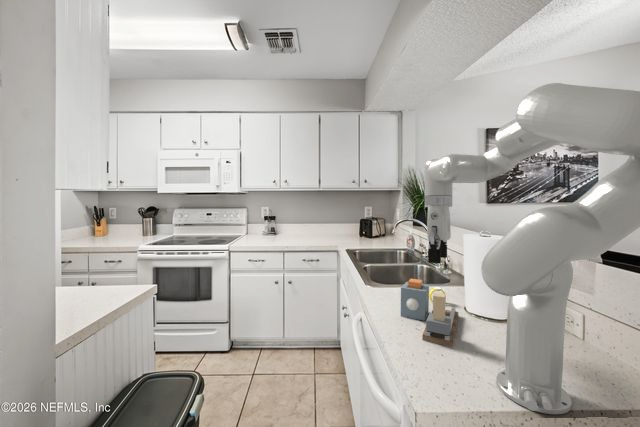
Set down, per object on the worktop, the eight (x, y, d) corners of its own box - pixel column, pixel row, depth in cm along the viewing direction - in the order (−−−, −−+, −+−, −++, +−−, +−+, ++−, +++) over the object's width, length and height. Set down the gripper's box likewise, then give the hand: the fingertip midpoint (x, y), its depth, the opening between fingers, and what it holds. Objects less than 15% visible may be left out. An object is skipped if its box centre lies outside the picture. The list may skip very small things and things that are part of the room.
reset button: (420, 291, 97) (420, 283, 96) (408, 289, 98) (408, 281, 98) (422, 288, 100) (422, 280, 100) (410, 286, 102) (410, 278, 102)
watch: (431, 304, 109) (430, 289, 109) (428, 302, 112) (427, 287, 112) (446, 303, 109) (446, 288, 109) (443, 301, 112) (443, 286, 112)
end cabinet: (424, 321, 94) (425, 291, 93) (400, 316, 98) (400, 288, 97) (428, 312, 101) (429, 284, 101) (405, 308, 105) (406, 281, 105)
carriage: (449, 335, 78) (449, 300, 78) (426, 330, 81) (426, 296, 81) (450, 326, 83) (451, 293, 83) (429, 322, 86) (430, 290, 86)
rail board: (452, 346, 78) (453, 337, 78) (422, 339, 82) (422, 330, 82) (458, 316, 98) (458, 308, 98) (433, 311, 102) (433, 304, 102)
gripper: (446, 202, 74) (446, 267, 74) (456, 201, 88) (456, 256, 89) (417, 202, 78) (417, 264, 78) (431, 202, 92) (431, 254, 93)
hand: (438, 260), depth 83 cm, fingers open, 9 cm apart
